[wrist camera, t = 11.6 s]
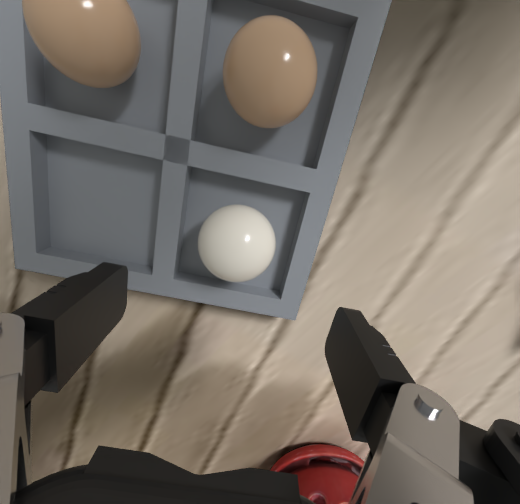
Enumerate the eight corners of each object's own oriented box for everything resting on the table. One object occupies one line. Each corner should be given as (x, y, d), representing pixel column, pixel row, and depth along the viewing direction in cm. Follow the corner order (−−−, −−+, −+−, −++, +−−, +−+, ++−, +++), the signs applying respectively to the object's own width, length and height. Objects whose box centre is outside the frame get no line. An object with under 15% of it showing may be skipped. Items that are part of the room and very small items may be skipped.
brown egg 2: (318, 52, 16) (342, 8, 12) (296, 140, 18) (310, 133, 13) (236, 30, 16) (226, -25, 11) (221, 122, 17) (208, 109, 13)
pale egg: (280, 207, 19) (288, 223, 15) (265, 270, 21) (267, 303, 16) (211, 191, 19) (195, 204, 14) (201, 257, 21) (184, 287, 16)
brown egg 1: (158, 9, 16) (115, -56, 11) (151, 105, 17) (110, 85, 12) (68, -15, 15) (-18, -93, 10) (69, 86, 17) (-5, 57, 12)
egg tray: (376, 13, 16) (394, -10, 14) (291, 304, 23) (295, 320, 21) (23, -86, 15) (-19, -130, 13) (40, 256, 21) (15, 268, 19)
